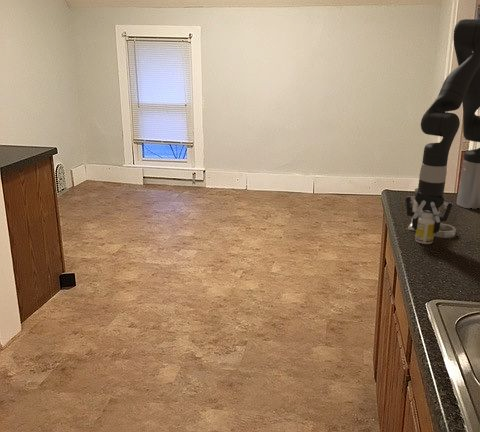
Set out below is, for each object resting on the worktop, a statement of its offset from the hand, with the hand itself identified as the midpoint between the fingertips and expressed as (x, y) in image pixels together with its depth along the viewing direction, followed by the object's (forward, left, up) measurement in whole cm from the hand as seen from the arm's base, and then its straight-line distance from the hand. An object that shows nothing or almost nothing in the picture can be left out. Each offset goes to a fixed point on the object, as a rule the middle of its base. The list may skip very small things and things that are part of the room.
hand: (425, 230), depth 175 cm
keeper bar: (-16, -4, +8) cm, 19 cm away
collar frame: (-10, +1, -3) cm, 11 cm away
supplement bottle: (0, 0, -4) cm, 4 cm away
